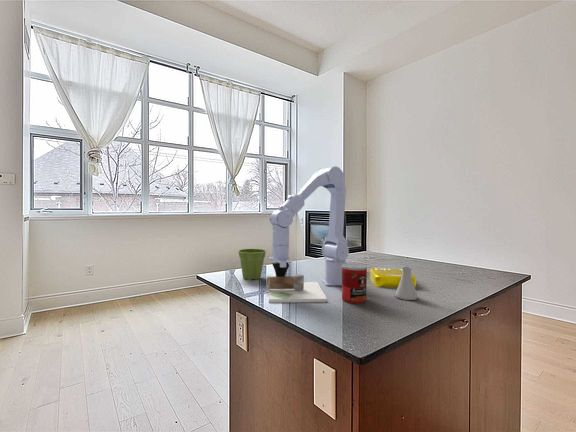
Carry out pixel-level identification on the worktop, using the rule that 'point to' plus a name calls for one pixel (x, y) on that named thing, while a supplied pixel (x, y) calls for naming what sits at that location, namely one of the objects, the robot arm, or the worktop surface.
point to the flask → (406, 286)
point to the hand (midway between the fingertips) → (280, 283)
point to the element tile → (387, 277)
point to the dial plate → (298, 294)
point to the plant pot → (252, 262)
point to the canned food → (354, 283)
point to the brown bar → (285, 282)
